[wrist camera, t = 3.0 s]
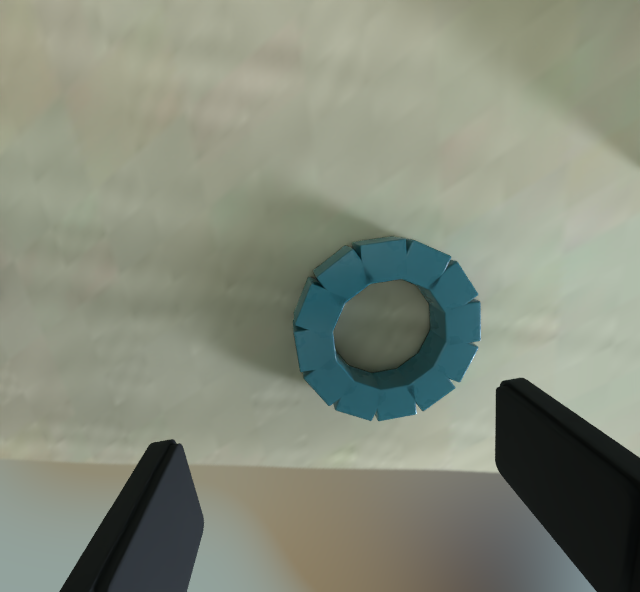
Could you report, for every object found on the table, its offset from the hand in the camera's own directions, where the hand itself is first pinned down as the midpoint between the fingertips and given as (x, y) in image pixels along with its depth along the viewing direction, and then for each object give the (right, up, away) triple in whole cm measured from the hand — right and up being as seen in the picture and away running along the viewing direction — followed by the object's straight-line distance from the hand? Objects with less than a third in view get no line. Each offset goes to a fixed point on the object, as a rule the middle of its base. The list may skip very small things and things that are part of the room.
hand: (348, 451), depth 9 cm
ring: (+3, +3, +9) cm, 10 cm away
